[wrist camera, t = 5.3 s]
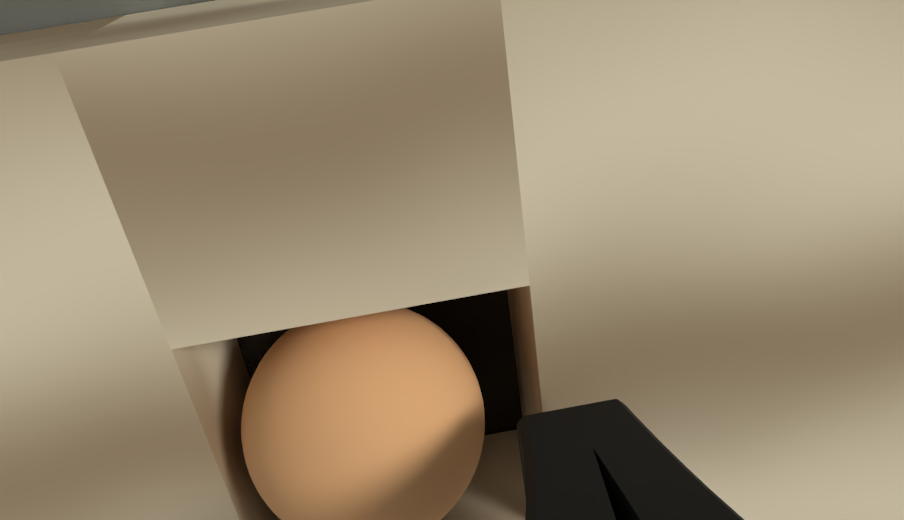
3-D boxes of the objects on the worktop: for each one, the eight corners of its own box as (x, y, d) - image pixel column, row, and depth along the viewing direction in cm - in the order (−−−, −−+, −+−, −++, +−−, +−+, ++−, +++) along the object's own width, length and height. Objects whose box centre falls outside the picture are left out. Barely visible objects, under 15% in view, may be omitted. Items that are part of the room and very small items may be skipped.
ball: (409, 399, 14) (547, 493, 11) (244, 514, 12) (364, 657, 9) (367, 237, 12) (518, 303, 9) (165, 342, 10) (284, 460, 8)
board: (973, 475, 16) (1074, 572, 13) (57, 651, 15) (4, 784, 13) (1153, -153, 10) (1381, -166, 8) (-315, 87, 9) (-528, 148, 7)
